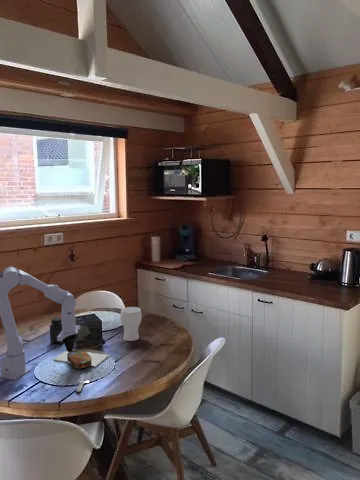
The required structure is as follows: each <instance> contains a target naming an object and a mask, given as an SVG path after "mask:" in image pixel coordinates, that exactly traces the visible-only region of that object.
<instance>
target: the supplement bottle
mask: <svg viewBox="0 0 360 480" xmlns="http://www.w3.org/2000/svg"><path fill="white" fill-rule="evenodd" d="M50 321H51V322H50V325H49V342H50V344H51V345H61V344H64V342H63V341H57V336H59V334H60V333H61V332H62V317H59V316H57V317H52V318H51V319H50Z"/></svg>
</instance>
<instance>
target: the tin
mask: <svg viewBox="0 0 360 480" xmlns="http://www.w3.org/2000/svg"><path fill="white" fill-rule="evenodd" d="M87 352H88V351H86V350H83V349H73V351H72V352H68V353H67V359H68V361H69V362H70V363H69V364H70V365H71V366H72V368H74V369H76V370H77V369H79V370H81V369H85V368H89V366H90V365H91V359H92V358H91V357H90V356H89V355H88V353H87Z"/></svg>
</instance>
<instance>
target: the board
mask: <svg viewBox="0 0 360 480" xmlns="http://www.w3.org/2000/svg"><path fill="white" fill-rule="evenodd" d="M86 352H87V353H88V355H89V356H90V357H91V358H92V359H91V365H90V366H94V367H95V368H97V367H98V366H99V365H101V362H102V361H103V362H105V361H106V360H107V359H108V358H109V357H110V355H109V354H102V353H96V352H89V351H86ZM67 353H68V352H67V350H65V351H64V352H62V353H61V354H60V355H58V356H56V357H54V358H53V361H56V362H59V361H60V363H65V362H69V361H68V359H67ZM106 358H107V359H106ZM103 362H102V363H103ZM98 364H99V365H98ZM97 365H98V366H97ZM96 366H97V367H96ZM94 367H93V368H94Z"/></svg>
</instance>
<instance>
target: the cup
mask: <svg viewBox="0 0 360 480" xmlns="http://www.w3.org/2000/svg"><path fill="white" fill-rule="evenodd" d="M142 315H143V314H142V310H141V308H140V307H136V306H127V307H123V308H122V309H121V311H120V315H119V316H120V318H119V319H120V322H121V324H122V327H123V330H124V332H123V333H124V334H123V340H124V341H127V342H134V341H137V340H139V339H140V334H139V326H140V325H141V321H142V319H143V317H142Z"/></svg>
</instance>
